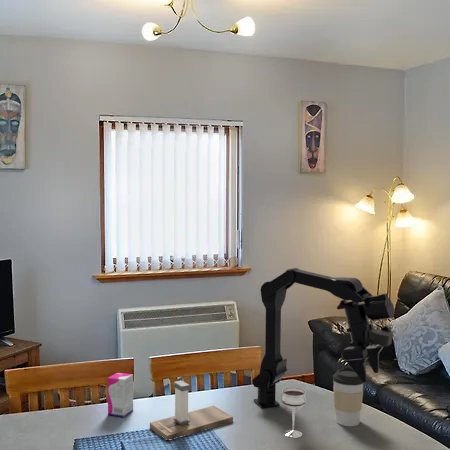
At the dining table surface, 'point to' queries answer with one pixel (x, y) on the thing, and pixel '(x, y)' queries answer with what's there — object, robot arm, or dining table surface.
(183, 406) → the lever
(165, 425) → the wooden board
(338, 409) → the coffee cup
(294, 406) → the wineglass
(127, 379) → the supplement box
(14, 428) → the dining table surface
